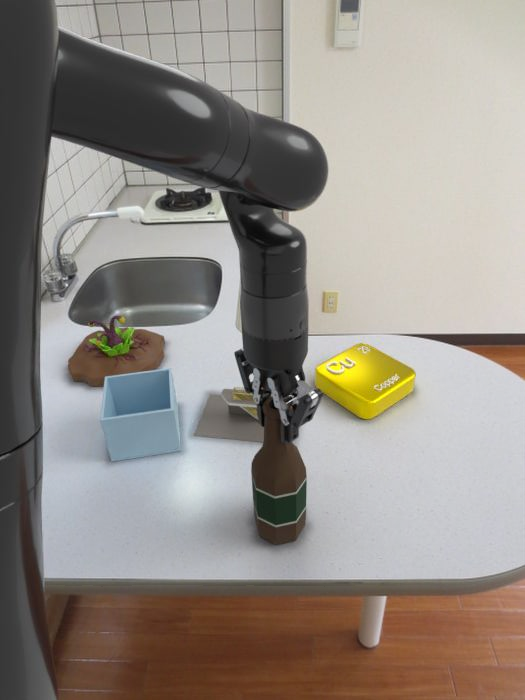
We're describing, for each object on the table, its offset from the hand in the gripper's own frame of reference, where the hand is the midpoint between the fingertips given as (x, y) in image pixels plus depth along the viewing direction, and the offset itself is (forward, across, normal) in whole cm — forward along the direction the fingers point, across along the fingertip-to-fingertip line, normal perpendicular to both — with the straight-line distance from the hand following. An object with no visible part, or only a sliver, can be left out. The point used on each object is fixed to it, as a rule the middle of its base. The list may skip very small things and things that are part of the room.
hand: (277, 431), depth 68 cm
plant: (+19, -56, +2) cm, 59 cm away
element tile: (+19, -13, +34) cm, 41 cm away
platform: (+19, -22, +11) cm, 31 cm away
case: (+19, -31, -5) cm, 37 cm away
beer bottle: (+19, 0, 0) cm, 19 cm away
